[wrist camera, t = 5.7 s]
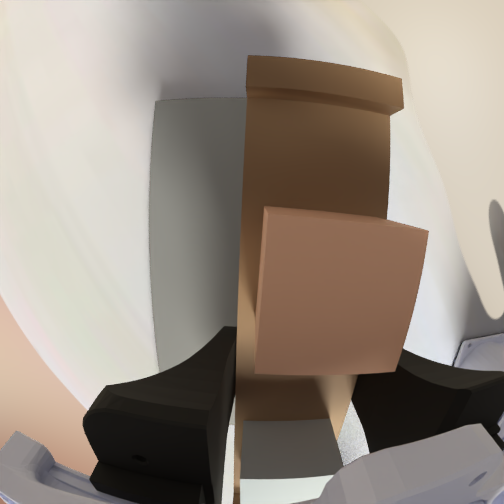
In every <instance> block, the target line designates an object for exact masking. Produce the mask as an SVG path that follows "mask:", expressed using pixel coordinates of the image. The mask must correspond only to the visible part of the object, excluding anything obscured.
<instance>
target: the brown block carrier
mask: <svg viewBox="0 0 504 504" xmlns="http://www.w3.org/2000/svg"><path fill="white" fill-rule="evenodd" d="M246 92H247V108H246V127H245V146H244V166H243V187H242V209H241V233H240V258H239V286H238V315H237V349H236V388H235V437H234V497H233V504H240V470H241V453H242V436H243V421H296V420H315V419H328V418H330V420H331V423H332V427H333V430H334V434H335V437H336V441H337V439H338V436H339V433H340V431H341V428H342V425H343V422H344V419H345V416H346V413H347V410H348V407H349V404H350V401H351V398H352V394H353V391H354V388H355V384H356V381H357V377H358V374H352V375H271V374H254V366H255V315H256V303H257V291H258V278H259V266H260V253H261V240H262V227H263V213H264V206H271V207H283V208H295V209H306V210H317V211H327V212H336V213H346V214H354V215H363V216H371V217H378V218H382V219H386V220H387V209H388V195H389V176H390V115H392V114H394V113H396V112H398V111H400V110H402V109H404V102H403V88H402V79H401V78H397V77H394V76H390V75H386V74H382V73H378V72H374V71H370V70H365V69H361V68H356V67H351V66H346V65H340V64H334V63H328V62H322V61H314V60H306V59H297V58H287V57H274V56H253V55H248V60H247V75H246Z"/></svg>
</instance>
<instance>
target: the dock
mask: <svg viewBox="0 0 504 504" xmlns="http://www.w3.org/2000/svg"><path fill="white" fill-rule="evenodd" d="M246 108H247V98H191V99H173V100H161V101H156V102H155V111H154V121H153V133H152V146H151V163H150V188H149V251H150V276H151V293H152V307H153V319H154V329H155V339H156V348H157V356H158V364H159V371H160V373H161V372H163V371H165V370H168V369H170V368H172V367H174V366H176V365H178V364H180V363H181V362H183V361H185V360H187V359H188V358H190V357H191V356H192V355H194V354H195V353H196V352H197V351H199V350H200V349H201V348H202V347H204V346H205V345H206V344H207V343H208V342H209V341H210V340H211V339H212V338H213V337H214V336H215V335H216V334H217V333H218V332H219V331H220V330H221V328H223V327H224V326H233V327H237V315H238V286H239V258H240V233H241V209H242V187H243V166H244V146H245V127H246ZM229 425H235V399H234V403H233V408H232V413H231V417H230V422H229Z"/></svg>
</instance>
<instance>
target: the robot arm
mask: <svg viewBox="0 0 504 504" xmlns="http://www.w3.org/2000/svg"><path fill="white" fill-rule="evenodd" d="M236 349H237V327H233V326H224V327H223V328H221V330H220V331H219V332H218V333H217V334H216V335H215V336H214V337H213V338H212V339H211V340H210V341H209V342H208V343H207V344H206V345H205V346H204V347H202V348H201V349H200V350H199V351H197V352H196V353H195V354H194V355H192V356H191V357H190V358H188V359H187V360H185V361H183V362H181V363H180V364H178V365H176V366H174V367H172V368H170V369H168V370H165V371H163V372H161V373H158V374H156V375H153V376H150V377H147V378H143V379H140V380H136V381H132V382H126V383H120V384H114V385H106V386H105V388H104V389H103V390H102V391H101V393H100V394H99V395H98V396H97V398H96V399H95V401H94V402H93V404H92V405H91V407H90V408H89V410H88V411H87V413H86V414H85V416H84V417H83V428H84V431H85V434H86V436H87V438H88V441H89V443H90V445H91V447H92V449H93V451H94V453H95V455H96V456H97V459H98V460H99V461H98V463H97V465H96V467H95V469H94V471H93V473H92V475H91V476H88V475H86V474H83V473H80V472H78V471H76V470H73V469H71V468H68V467H66V466H64V465H62V464H59V463H57V462H55V460H54V458H53V456H52V455H51V453H50V451H49V450H48V449H47V448H46V447H45V446H44V445H43V444H41V443H40V442H38V441H36V440H34V439H32V438H30V437H28V436H26V435H25V434H23V433H21V432H19V431H16V432H15V433H14V434H13V435H12V436H11V437H10V439H9V440H8V441H7V442H6V443H5V445H4V446H3V447H2V448H1V450H0V497H1V498H2V499H3V500H4V501H5V502H6V503H7V504H221V501H222V488H223V475H224V463H225V451H226V440H227V433H228V427H229V422H230V417H231V413H232V408H233V403H234V399H235V388H236ZM351 401H352V403H353V405H354V408H355V410H356V412H357V415H358V417H359V419H360V422H361V424H362V427H363V429H364V432H365V436H366V440H367V444H368V448H369V452H370V454H367V455H364V456H361V457H360V458H358V459H356V460H354V461H353V462H351V463H349V464H347V465H345V466H344V467H342V468H341V469H340V470H339V471H338V472H337V473H336V474H335V475H334V476H333V477H332V478H331V479H330V480H329V481H328V482H327V483H326V485H325V487H324V489H323V491H322V493H321V495H320V497H319V498H316V499H311V500H306V501H301V502H296V503H291V504H504V333H501V334H496V335H491V336H486V337H481V338H476V339H470V340H465V341H464V342H463V343H462V345H461V348H460V350H459V353H458V356H457V359H456V361H455V364H454V367H453V366H449V365H445V364H441V363H437V362H434V361H431V360H428V359H426V358H423V357H420V356H418V355H415V354H413V353H411V352H409V351H407V350H405V349H402V352H401V355H400V358H399V361H398V364H397V367H396V370H395V372H384V373H370V374H358V377H357V381H356V384H355V388H354V391H353V394H352V398H351Z"/></svg>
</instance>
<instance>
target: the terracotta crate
mask: <svg viewBox="0 0 504 504" xmlns="http://www.w3.org/2000/svg"><path fill="white" fill-rule="evenodd" d="M428 232H429V231H427V230H424V229H420V228H416V227H413V226H409V225H405V224H402V223H398V222H394V221H390V220H386V219H382V218H378V217H371V216H363V215H354V214H346V213H336V212H327V211H317V210H306V209H295V208H283V207H271V206H264V213H263V227H262V240H261V253H260V266H259V278H258V291H257V303H256V315H255V366H254V374H271V375H352V374H370V373H384V372H395V370H396V367H397V364H398V361H399V358H400V355H401V352H402V349H403V346H404V342H405V339H406V336H407V332H408V329H409V325H410V322H411V318H412V314H413V310H414V306H415V302H416V298H417V293H418V289H419V284H420V279H421V274H422V269H423V264H424V258H425V252H426V246H427V239H428Z"/></svg>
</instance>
